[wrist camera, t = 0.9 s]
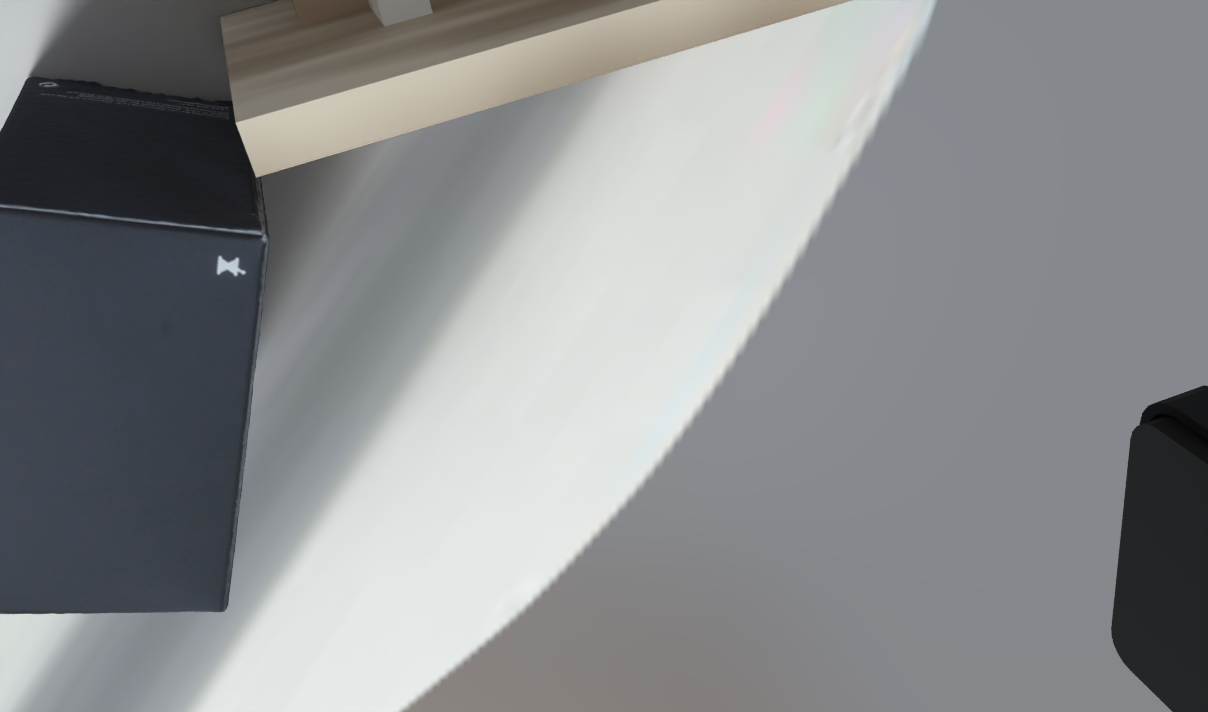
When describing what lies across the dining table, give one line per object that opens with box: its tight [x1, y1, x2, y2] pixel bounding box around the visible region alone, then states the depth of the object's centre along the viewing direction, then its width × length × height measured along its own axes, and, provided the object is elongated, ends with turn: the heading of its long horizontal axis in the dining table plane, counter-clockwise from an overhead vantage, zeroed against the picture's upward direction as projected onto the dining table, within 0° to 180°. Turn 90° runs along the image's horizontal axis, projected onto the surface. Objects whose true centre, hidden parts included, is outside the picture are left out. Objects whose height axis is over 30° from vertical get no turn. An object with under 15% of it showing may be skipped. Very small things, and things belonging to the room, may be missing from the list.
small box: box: [0, 77, 269, 614], centre depth 30 cm, size 11×6×10 cm, turn 167°
